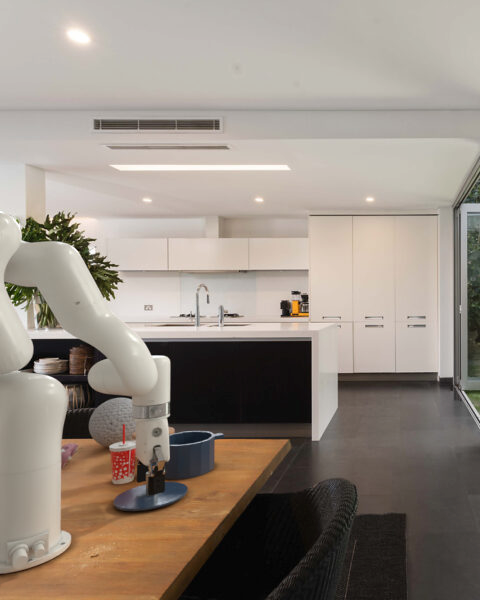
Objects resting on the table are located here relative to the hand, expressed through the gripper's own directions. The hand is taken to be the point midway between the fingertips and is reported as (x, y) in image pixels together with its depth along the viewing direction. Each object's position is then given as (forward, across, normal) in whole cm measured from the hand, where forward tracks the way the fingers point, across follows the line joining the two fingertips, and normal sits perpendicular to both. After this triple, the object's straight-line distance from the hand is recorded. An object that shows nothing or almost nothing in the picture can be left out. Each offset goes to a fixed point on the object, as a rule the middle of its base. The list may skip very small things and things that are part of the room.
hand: (150, 487), depth 101 cm
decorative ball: (+3, +50, -3) cm, 50 cm away
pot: (+3, +14, -12) cm, 19 cm away
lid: (+2, 0, 0) cm, 2 cm away
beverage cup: (+3, +17, +2) cm, 17 cm away
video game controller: (+3, +40, +12) cm, 42 cm away
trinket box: (+3, +30, -8) cm, 31 cm away
